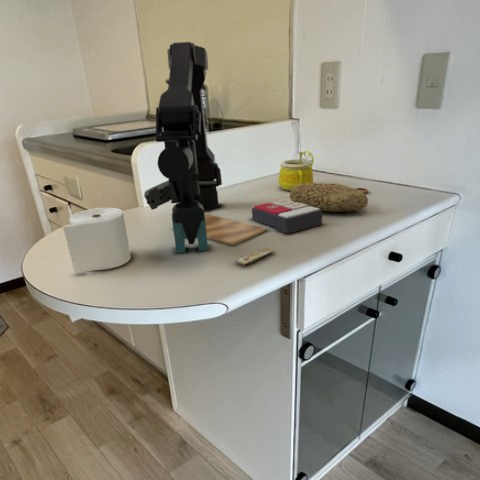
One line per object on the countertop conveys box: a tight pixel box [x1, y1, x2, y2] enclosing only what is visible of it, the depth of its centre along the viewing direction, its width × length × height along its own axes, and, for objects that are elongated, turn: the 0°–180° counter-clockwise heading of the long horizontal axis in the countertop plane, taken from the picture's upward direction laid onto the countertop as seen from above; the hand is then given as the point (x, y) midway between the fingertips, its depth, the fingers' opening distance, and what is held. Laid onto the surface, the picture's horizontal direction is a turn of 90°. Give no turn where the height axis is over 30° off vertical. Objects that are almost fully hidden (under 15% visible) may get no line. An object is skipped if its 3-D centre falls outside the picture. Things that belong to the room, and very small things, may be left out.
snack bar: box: [234, 247, 276, 266], centre depth 91 cm, size 10×2×3 cm
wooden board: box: [182, 214, 267, 246], centre depth 108 cm, size 20×12×1 cm, turn 48°
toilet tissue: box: [62, 207, 132, 273], centre depth 91 cm, size 11×12×10 cm
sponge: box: [289, 181, 369, 213], centre depth 117 cm, size 13×8×20 cm
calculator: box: [251, 198, 323, 234], centre depth 110 cm, size 11×4×15 cm
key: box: [356, 187, 369, 194], centre depth 127 cm, size 6×1×15 cm
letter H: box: [171, 212, 209, 254], centre depth 96 cm, size 3×7×8 cm, turn 98°
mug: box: [278, 150, 314, 192], centre depth 136 cm, size 13×11×12 cm
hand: (191, 241), depth 97 cm, fingers closed on letter H, 3 cm apart
